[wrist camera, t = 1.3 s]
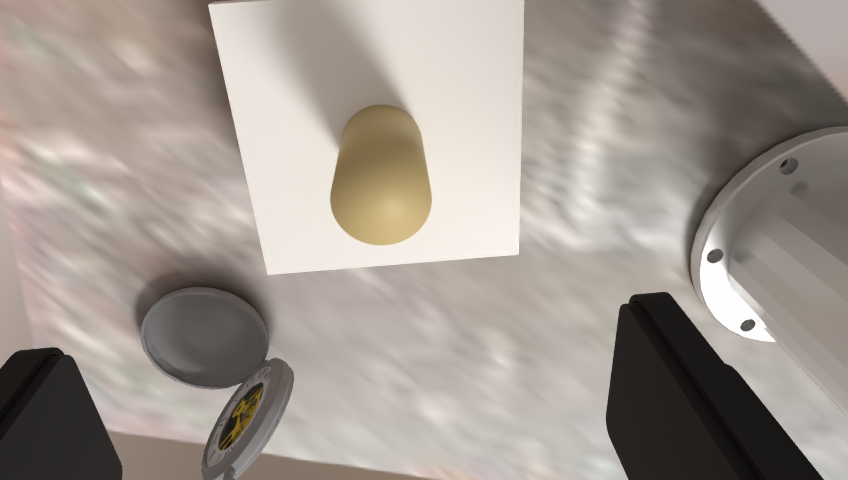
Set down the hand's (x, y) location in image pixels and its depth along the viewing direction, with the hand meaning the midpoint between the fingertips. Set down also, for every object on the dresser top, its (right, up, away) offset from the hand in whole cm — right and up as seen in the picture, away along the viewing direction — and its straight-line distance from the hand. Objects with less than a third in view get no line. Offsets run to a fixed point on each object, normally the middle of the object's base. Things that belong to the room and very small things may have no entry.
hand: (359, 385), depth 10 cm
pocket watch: (-10, -3, +23) cm, 25 cm away
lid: (0, +6, +12) cm, 14 cm away
